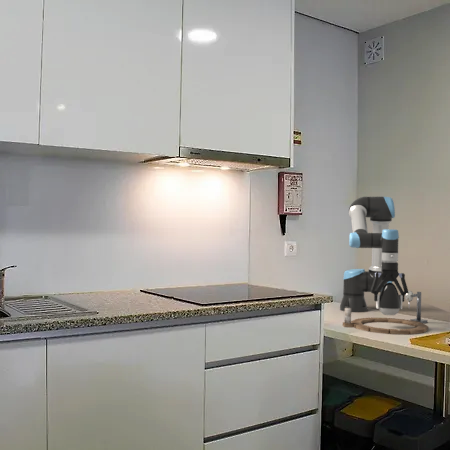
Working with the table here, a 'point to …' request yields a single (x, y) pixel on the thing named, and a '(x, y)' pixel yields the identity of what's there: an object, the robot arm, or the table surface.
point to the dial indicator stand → (410, 297)
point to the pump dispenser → (389, 300)
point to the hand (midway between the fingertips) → (389, 308)
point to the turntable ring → (359, 322)
